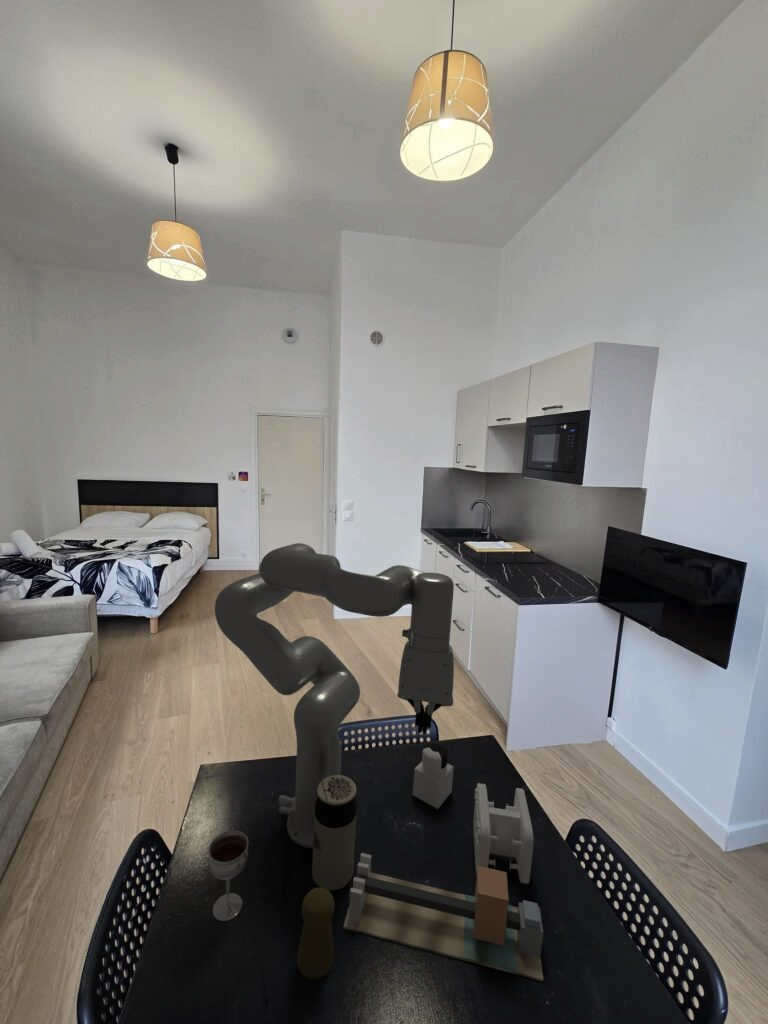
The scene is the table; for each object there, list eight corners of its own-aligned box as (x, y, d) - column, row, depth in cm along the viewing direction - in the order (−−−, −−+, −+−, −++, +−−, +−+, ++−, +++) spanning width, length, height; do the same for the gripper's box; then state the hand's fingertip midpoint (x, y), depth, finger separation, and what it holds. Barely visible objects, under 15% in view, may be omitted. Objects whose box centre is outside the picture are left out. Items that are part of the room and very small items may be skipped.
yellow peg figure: (301, 986, 69) (304, 923, 68) (293, 946, 75) (295, 887, 73) (339, 970, 72) (342, 909, 70) (328, 932, 77) (331, 875, 76)
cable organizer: (530, 896, 86) (536, 841, 84) (473, 885, 87) (478, 831, 86) (518, 832, 100) (523, 784, 99) (470, 824, 102) (474, 777, 100)
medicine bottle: (426, 779, 115) (430, 735, 114) (451, 792, 111) (455, 747, 109) (411, 795, 109) (415, 749, 108) (437, 810, 105) (441, 762, 104)
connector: (518, 953, 75) (521, 920, 75) (516, 926, 80) (519, 895, 79) (540, 959, 75) (544, 926, 74) (536, 932, 79) (540, 900, 78)
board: (343, 928, 78) (343, 925, 78) (359, 871, 89) (359, 869, 89) (543, 981, 72) (543, 978, 72) (534, 913, 82) (534, 911, 82)
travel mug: (350, 852, 93) (355, 772, 90) (355, 889, 85) (360, 802, 83) (311, 856, 91) (315, 775, 89) (312, 894, 83) (316, 806, 81)
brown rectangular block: (473, 937, 76) (477, 893, 75) (473, 908, 81) (477, 865, 80) (503, 945, 75) (508, 900, 74) (502, 915, 80) (506, 872, 79)
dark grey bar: (356, 890, 82) (357, 882, 82) (358, 882, 83) (359, 874, 83) (528, 933, 76) (529, 924, 76) (527, 923, 78) (528, 915, 78)
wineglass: (204, 929, 76) (205, 866, 75) (210, 891, 83) (210, 832, 81) (246, 922, 78) (247, 860, 76) (248, 885, 84) (250, 827, 83)
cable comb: (348, 921, 79) (349, 892, 78) (360, 878, 87) (361, 851, 86) (359, 924, 79) (360, 895, 78) (370, 880, 87) (371, 854, 86)
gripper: (386, 641, 83) (381, 734, 85) (469, 652, 80) (461, 748, 82) (394, 626, 90) (388, 712, 92) (469, 636, 87) (462, 725, 90)
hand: (422, 729), depth 87 cm, fingers closed
